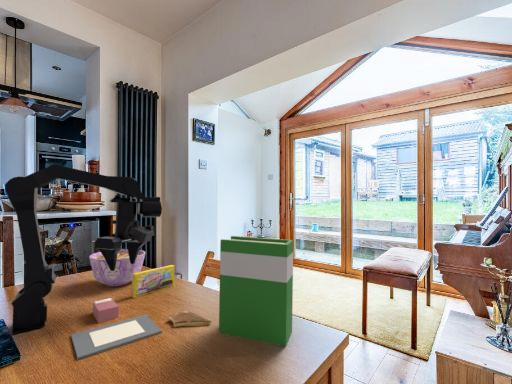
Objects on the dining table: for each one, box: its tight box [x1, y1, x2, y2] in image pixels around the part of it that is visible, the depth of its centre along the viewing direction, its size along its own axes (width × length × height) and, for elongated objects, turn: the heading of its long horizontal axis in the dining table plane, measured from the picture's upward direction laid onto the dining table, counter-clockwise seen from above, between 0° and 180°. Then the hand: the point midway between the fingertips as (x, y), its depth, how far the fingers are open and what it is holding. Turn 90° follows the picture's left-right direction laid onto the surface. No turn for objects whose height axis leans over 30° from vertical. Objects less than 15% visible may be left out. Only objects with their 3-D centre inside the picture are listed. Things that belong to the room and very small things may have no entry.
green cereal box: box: [218, 235, 294, 348], centre depth 69 cm, size 18×7×24 cm, turn 71°
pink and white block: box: [92, 297, 120, 324], centre depth 77 cm, size 5×8×4 cm, turn 42°
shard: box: [168, 310, 212, 328], centre depth 73 cm, size 11×8×2 cm
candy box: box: [130, 264, 176, 299], centre depth 97 cm, size 16×2×8 cm, turn 143°
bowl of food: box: [88, 248, 146, 287], centre depth 106 cm, size 20×20×12 cm
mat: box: [70, 314, 162, 361], centre depth 66 cm, size 18×12×1 cm, turn 131°
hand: (123, 267), depth 83 cm, fingers open, 9 cm apart
